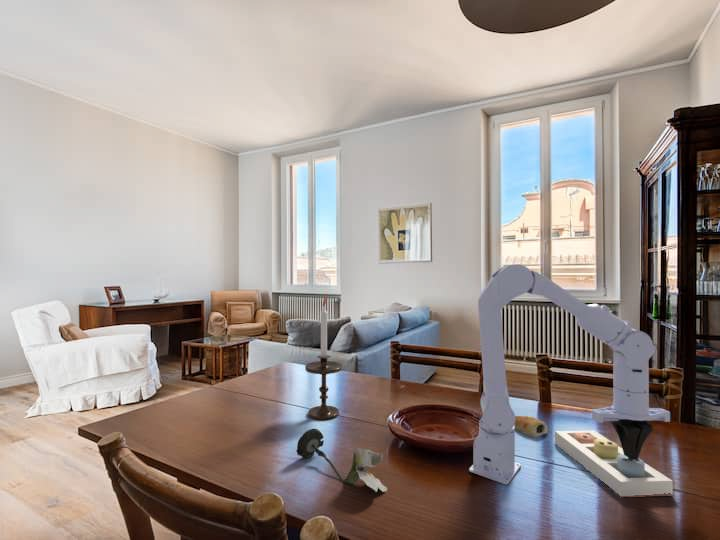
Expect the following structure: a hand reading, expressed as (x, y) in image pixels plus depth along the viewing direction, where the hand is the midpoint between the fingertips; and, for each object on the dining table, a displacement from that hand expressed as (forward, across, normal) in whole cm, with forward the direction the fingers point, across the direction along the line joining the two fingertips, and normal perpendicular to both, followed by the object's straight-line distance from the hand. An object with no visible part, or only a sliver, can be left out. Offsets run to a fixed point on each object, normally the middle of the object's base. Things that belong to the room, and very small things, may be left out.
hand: (630, 456), depth 73 cm
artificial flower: (+6, +57, -6) cm, 58 cm away
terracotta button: (+5, 0, -14) cm, 15 cm away
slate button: (+4, 0, 0) cm, 4 cm away
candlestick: (+6, +63, -38) cm, 74 cm away
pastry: (+6, +8, -26) cm, 27 cm away
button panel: (+6, 0, -7) cm, 9 cm away
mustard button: (+4, 0, -7) cm, 8 cm away
